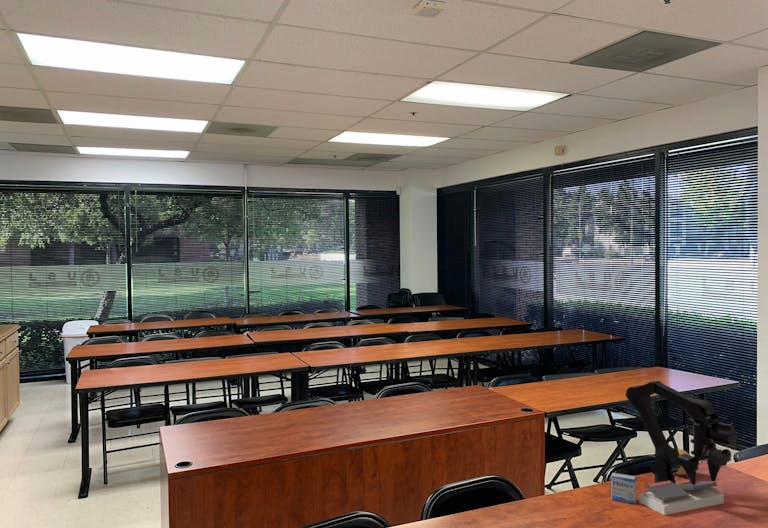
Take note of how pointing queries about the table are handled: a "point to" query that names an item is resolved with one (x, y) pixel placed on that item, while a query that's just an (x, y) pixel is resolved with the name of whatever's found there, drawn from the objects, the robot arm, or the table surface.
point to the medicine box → (623, 488)
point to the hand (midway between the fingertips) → (703, 482)
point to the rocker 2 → (696, 485)
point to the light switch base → (683, 501)
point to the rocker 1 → (666, 491)
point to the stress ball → (681, 469)
